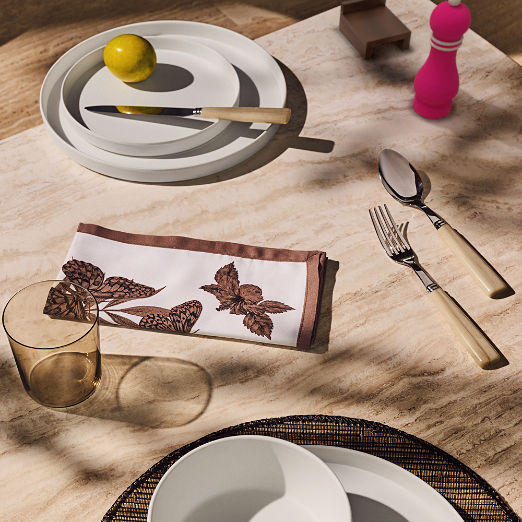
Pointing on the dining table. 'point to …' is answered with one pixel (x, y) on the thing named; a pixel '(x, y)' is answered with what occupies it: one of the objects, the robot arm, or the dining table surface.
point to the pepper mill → (441, 60)
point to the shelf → (371, 25)
